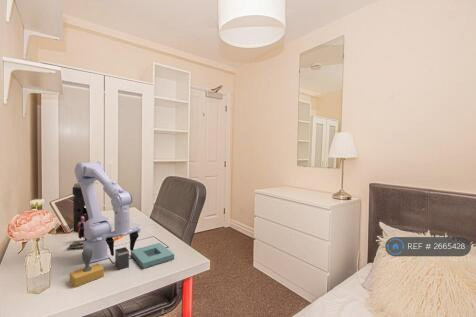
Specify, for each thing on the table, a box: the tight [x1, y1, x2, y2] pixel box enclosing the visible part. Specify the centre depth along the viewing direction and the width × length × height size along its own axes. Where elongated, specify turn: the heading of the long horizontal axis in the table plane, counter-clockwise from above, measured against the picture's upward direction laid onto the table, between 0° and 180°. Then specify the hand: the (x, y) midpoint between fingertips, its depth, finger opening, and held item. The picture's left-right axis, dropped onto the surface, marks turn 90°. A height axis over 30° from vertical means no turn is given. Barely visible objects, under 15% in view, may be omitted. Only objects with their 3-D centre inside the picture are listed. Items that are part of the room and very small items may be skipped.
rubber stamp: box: [69, 248, 105, 288], centre depth 91 cm, size 10×6×12 cm, turn 140°
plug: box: [114, 246, 130, 271], centre depth 101 cm, size 4×5×7 cm
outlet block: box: [130, 242, 175, 270], centre depth 110 cm, size 14×16×2 cm
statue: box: [66, 216, 87, 250], centre depth 121 cm, size 11×9×15 cm
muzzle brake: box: [72, 182, 89, 234], centre depth 142 cm, size 10×28×10 cm
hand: (122, 252), depth 101 cm, fingers open, 7 cm apart
